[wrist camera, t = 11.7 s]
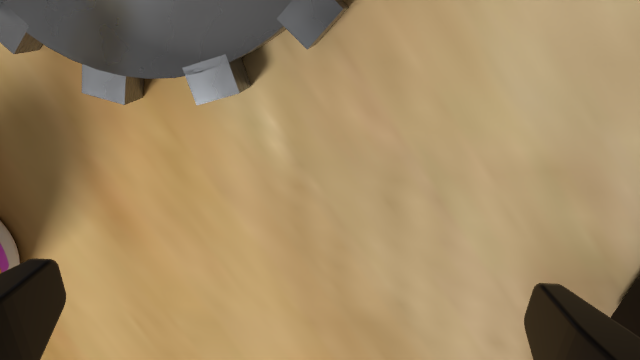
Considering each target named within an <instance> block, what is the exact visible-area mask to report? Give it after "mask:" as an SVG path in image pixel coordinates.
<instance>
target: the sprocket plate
mask: <svg viewBox="0 0 640 360" xmlns="http://www.w3.org/2000/svg"><path fill="white" fill-rule="evenodd" d="M348 8H349V7H348V6H347V5H346V4H345V3H344V2H343V1H342V0H0V43H2V44H3V45H4V46H5V47H6V48H7V49H8V50H9V51H11V52H12V53H13V54H18V53H25V52H31V51H37V50H39V49H40V48H41V46H42V44H44V45H45V46H47V47H48V48H50V49H52V50H54V51H56V52H58V53H60V54H62V55H63V56H65V57H67V58H69V59H71V60H73V61H76V62H78V63H81V64H82V93H84V94H88V95H91V96H95V97H98V98H102V99H106V100H109V101H113V102H116V103H120V104H123V105H125V104H128V103H130V102H133V101H135V100H138V99H140V98H143V88H144V78H147V79H154V78H176V77H181V76H186V79H187V82H188V84H189V87H190V89H191V92H192V94H193V97H194V100H195V102H196V105H200V104H203V103H207V102H210V101H214V100H217V99H221V98H224V97H228V96H231V95H235V94H238V93H241V92H242V91H244V90H246V89H247V88H249V87H251V84H250V81H249V78H248V76H247V73H246V70H245V67H244V64H243V61H242V58H241V57H243V56H245V55H247V54H249V53H251V52H253V51H255V50H257V49H259V48H261V47H262V46H264V45H265V44H266V43H268V42H269V41H271V40H272V39H273V38H275V37H276V36H277V35H279V34H280V33H282V32H283V31H284V30H285V29H287V30H288V31H289V32H290V33H291V34H292V35H293V36H294V37H295V38H296V39H297V40H298V41H299V42H300V43H301V44H302V45H303V46H304V47H305V48H306V49H309V48H311V47H313V46H314V45H316V43H317V42H318V41H319V40H320V39H321V38H322V37H323V36H324V34H325V33H326V32H327V31H328V30H329V29H330V28H331V27H332V26H333V24H334V23H335V22H336V21H337V20H338V19H339V18H340V17H341V15H342V14H343V13H344V12H345V11H346V10H347V9H348Z"/></svg>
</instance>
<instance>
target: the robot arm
mask: <svg viewBox="0 0 640 360" xmlns="http://www.w3.org/2000/svg"><path fill="white" fill-rule="evenodd" d="M65 302H66V292H65V288H64V284H63V281H62V277H61V273H60V270H59V266H58V264H57V263H56V261H54V260H52V259H29V260H27V261H25V262H23V263H21V264H19V265H17V266H15V267H13V268H11V269H8V270H6V271H4V272H2V273H0V360H40V359H41V357H42V355H43V352H44V350H45V348H46V346H47V344H48V341H49V339H50V337H51V335H52V332H53V330H54V328H55V326H56V324H57V321H58V319H59V317H60V315H61V312H62V310H63V308H64V305H65ZM524 325H525V331H526V334H527V338H528V342H529V345H530V349H531V353H532V356H533V360H640V277H639V278H637V279H636V281H635V282H634V284H633V285H632V287H631V288H630V290H629V291H628V293H627V294H626V296H625V297H624V299H623V300H622V302H621V303H620V305H619V306H618V308H617V309H616V311H615V312H614V313H613V315H612V316H611V318H610V317H608V316H607V315H605V314H604V313H602V312H601V311H599V310H598V309H596V308H595V307H593V306H592V305H590V304H589V303H587V302H586V301H584V300H583V299H581V298H580V297H578V296H577V295H576V294H574V293H573V292H571V291H570V290H568V289H567V288H565V287H564V286H562V285H560V284H550V283H539V284H537V285H536V286H535V287H534V289H533V292H532V295H531V298H530V301H529V304H528V307H527V310H526V313H525V318H524Z"/></svg>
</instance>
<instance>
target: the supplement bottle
mask: <svg viewBox="0 0 640 360" xmlns="http://www.w3.org/2000/svg"><path fill="white" fill-rule="evenodd" d="M19 264H20V261H19V254H18V249H17V246H16V244H15V242H14V240H13V238H12V236H11V234H10V233H9V231H8V230H7V228H6V227H5V226H4V225H3V223H2V222H1V221H0V273H2V272H4V271H6V270H8V269H11V268H13V267H15V266H17V265H19Z"/></svg>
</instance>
